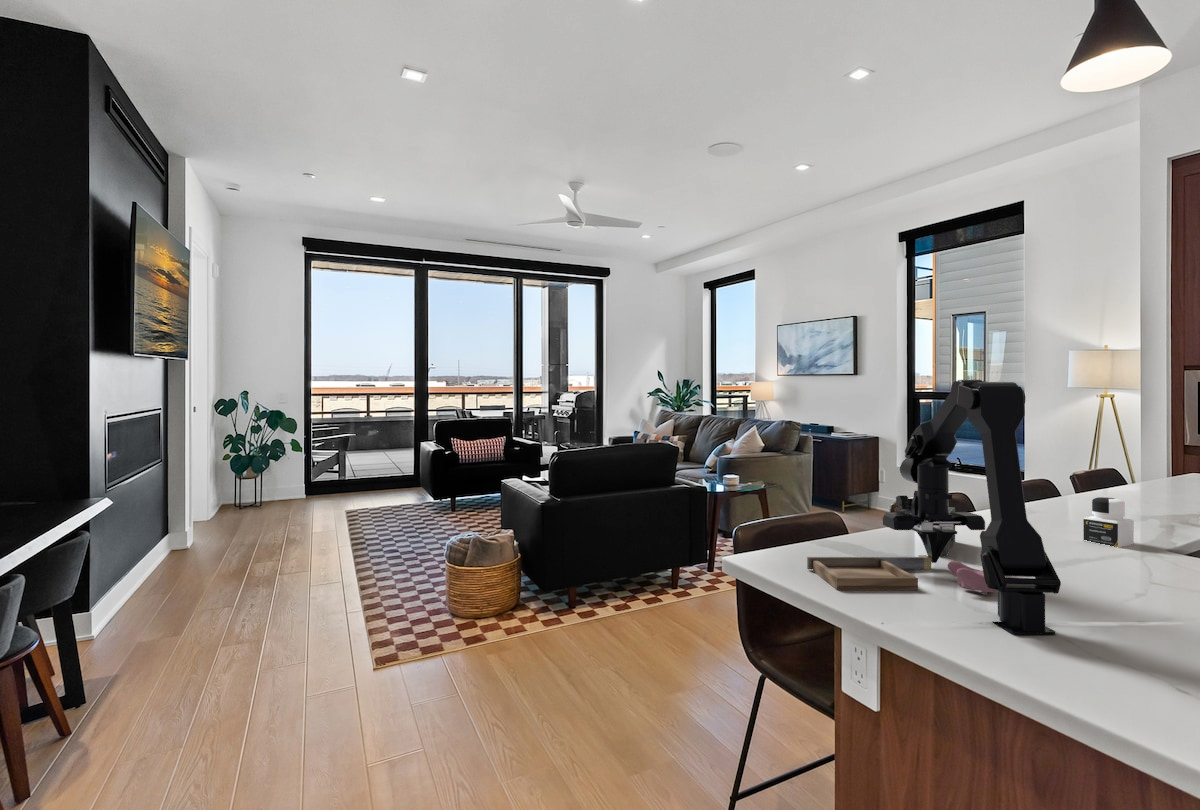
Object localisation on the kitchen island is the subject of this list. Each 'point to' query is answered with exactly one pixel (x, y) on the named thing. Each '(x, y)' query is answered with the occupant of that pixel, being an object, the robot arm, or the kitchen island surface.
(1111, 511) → the medicine bottle
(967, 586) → the video game controller
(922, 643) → the kitchen island surface
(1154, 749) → the kitchen island surface
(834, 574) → the brown wooden tray
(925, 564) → the gray metal bar
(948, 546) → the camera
